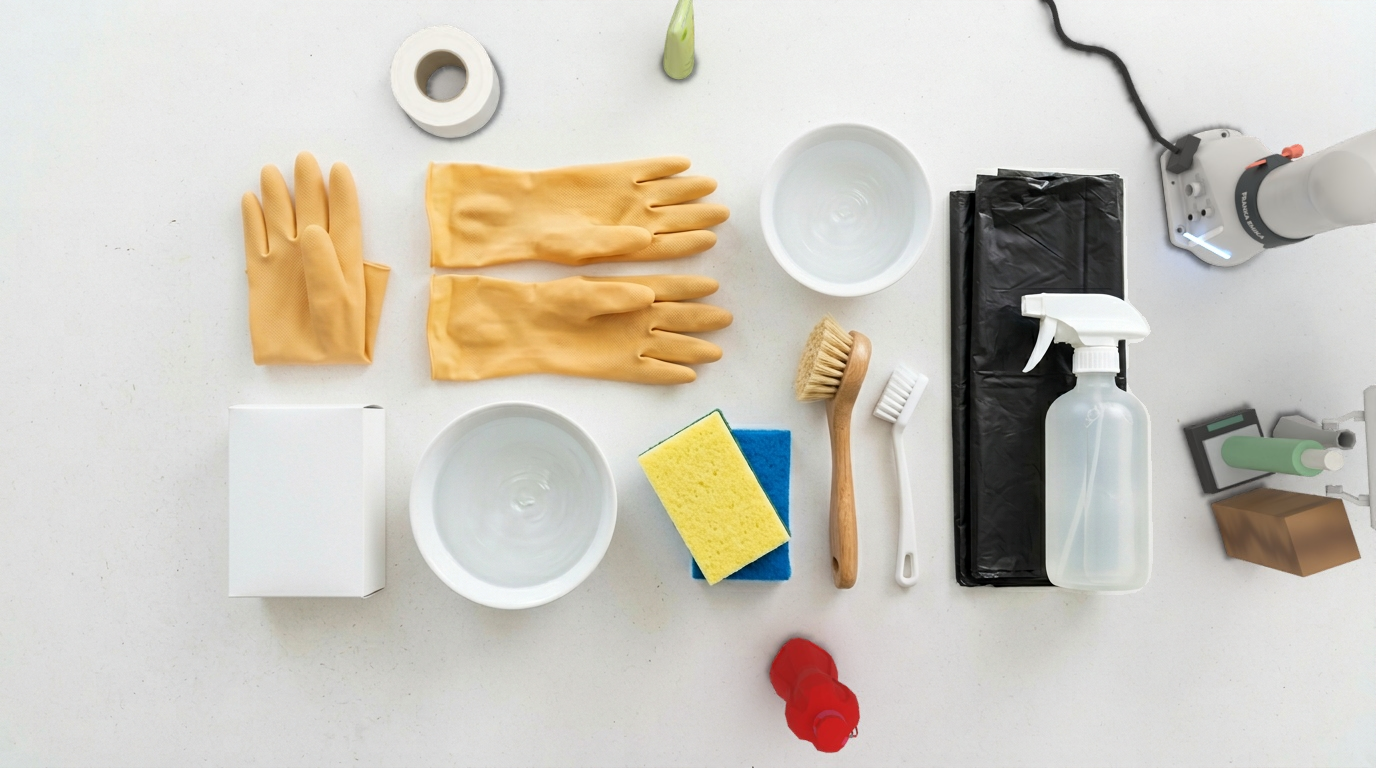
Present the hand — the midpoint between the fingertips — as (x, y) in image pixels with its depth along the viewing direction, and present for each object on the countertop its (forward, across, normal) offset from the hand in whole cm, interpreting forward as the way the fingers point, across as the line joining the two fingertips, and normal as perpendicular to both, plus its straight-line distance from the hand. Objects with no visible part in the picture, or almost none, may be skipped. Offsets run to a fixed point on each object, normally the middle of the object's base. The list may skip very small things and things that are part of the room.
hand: (1323, 457), depth 109 cm
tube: (+75, -66, -51) cm, 112 cm away
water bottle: (+63, +32, -40) cm, 81 cm away
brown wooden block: (+11, +12, +12) cm, 20 cm away
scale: (+13, 0, +10) cm, 17 cm away
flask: (+5, -2, +18) cm, 19 cm away
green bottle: (+11, 0, +8) cm, 14 cm away
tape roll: (+101, -63, -77) cm, 142 cm away
